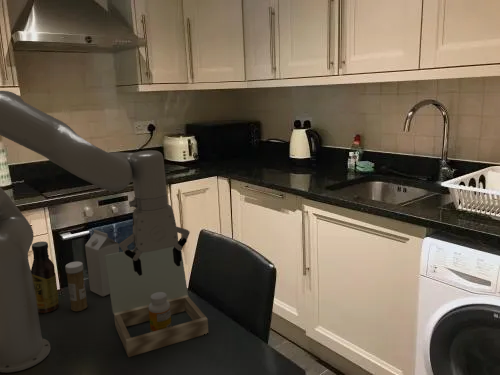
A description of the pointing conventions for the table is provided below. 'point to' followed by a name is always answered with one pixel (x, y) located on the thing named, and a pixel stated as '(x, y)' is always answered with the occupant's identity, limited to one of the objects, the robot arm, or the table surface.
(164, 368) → the table surface
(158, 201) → the robot arm
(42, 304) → the sauce bottle
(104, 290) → the milk carton
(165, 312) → the supplement bottle
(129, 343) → the brown wooden tray
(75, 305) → the sprinkles bottle
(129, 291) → the panel
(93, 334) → the table surface
